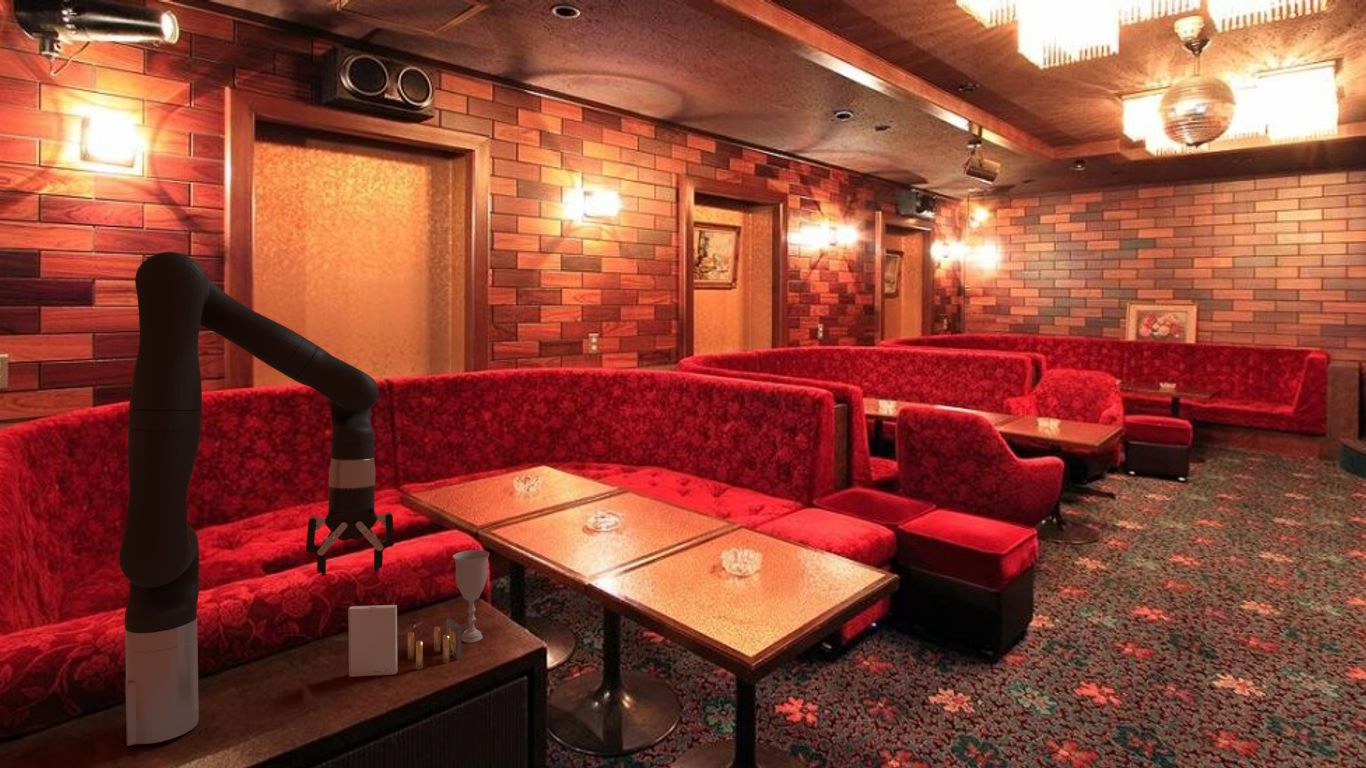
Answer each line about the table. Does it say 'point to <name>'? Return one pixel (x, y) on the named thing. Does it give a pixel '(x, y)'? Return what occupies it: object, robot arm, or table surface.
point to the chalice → (471, 585)
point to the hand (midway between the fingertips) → (350, 572)
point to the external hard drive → (372, 640)
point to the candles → (438, 643)
